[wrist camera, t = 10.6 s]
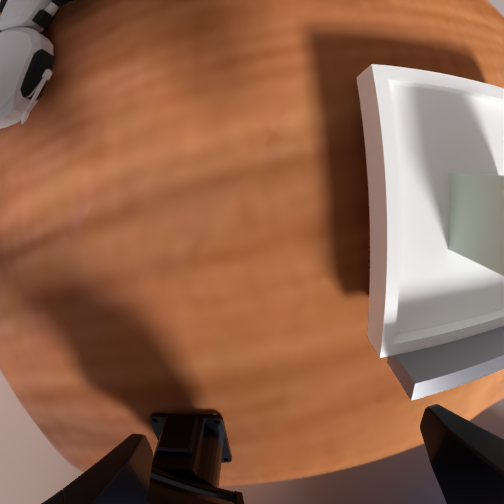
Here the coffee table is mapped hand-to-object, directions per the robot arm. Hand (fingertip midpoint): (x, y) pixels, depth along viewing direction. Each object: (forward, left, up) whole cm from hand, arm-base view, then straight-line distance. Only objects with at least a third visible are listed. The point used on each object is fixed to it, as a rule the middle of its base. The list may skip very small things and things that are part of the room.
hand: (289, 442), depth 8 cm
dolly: (+5, -13, -13) cm, 19 cm away
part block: (+5, -13, -9) cm, 17 cm away
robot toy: (+22, +18, -13) cm, 31 cm away
